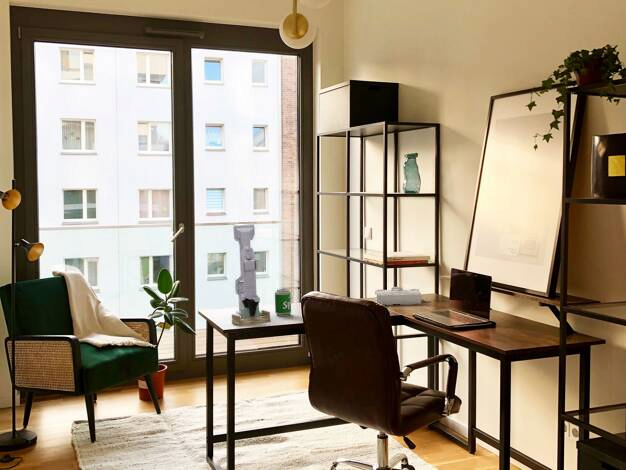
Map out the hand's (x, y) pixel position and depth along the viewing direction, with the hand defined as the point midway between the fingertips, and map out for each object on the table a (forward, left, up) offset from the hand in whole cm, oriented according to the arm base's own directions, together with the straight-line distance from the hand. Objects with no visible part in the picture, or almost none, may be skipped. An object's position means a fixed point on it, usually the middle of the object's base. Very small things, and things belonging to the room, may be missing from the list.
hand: (250, 315), depth 324 cm
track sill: (0, 0, -3) cm, 3 cm away
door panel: (0, 0, -2) cm, 2 cm away
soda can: (-20, -5, -3) cm, 21 cm away
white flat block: (-84, +7, -4) cm, 84 cm away
